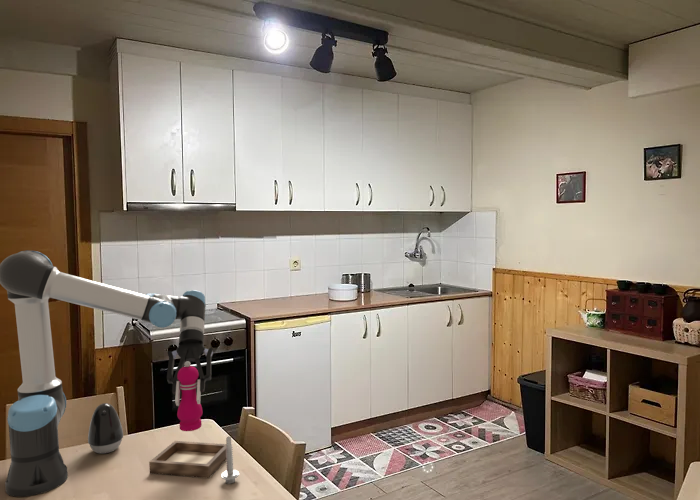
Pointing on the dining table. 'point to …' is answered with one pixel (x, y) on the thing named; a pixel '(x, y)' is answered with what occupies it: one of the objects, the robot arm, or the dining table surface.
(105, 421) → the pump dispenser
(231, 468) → the screw
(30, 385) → the robot arm
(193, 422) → the pepper mill
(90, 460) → the dining table surface
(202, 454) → the walnut tray
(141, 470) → the dining table surface
